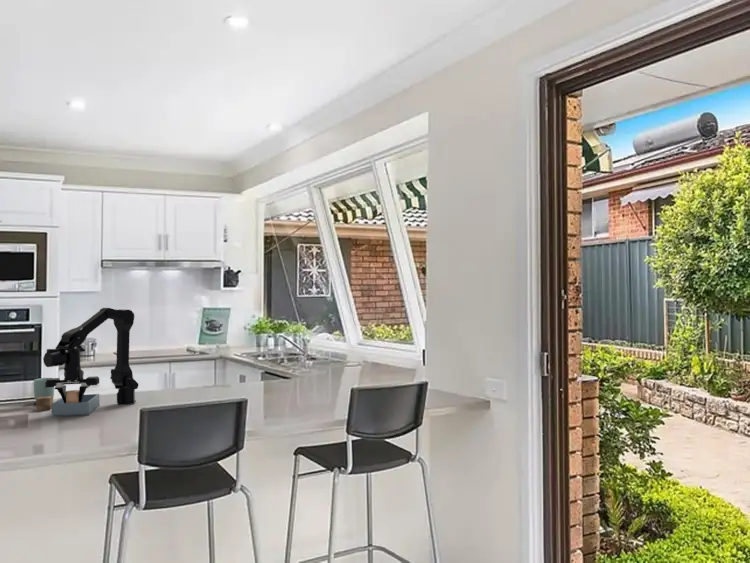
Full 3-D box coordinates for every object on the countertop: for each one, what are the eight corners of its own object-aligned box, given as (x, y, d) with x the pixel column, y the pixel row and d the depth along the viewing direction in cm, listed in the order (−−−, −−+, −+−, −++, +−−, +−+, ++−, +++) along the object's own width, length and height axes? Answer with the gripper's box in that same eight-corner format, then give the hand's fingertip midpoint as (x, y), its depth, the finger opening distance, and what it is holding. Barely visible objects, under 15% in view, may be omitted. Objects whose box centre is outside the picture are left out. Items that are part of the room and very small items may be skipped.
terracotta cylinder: (78, 409, 263) (78, 391, 263) (64, 410, 262) (64, 392, 262) (81, 407, 268) (81, 389, 268) (68, 408, 267) (67, 390, 267)
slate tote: (99, 405, 281) (99, 393, 281) (88, 415, 262) (88, 402, 262) (65, 407, 278) (64, 395, 278) (51, 417, 259) (51, 404, 259)
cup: (46, 404, 287) (45, 380, 287) (30, 403, 289) (29, 380, 288) (58, 400, 295) (57, 377, 295) (42, 400, 296) (42, 377, 296)
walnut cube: (53, 408, 278) (52, 396, 278) (49, 410, 273) (49, 398, 273) (40, 408, 277) (39, 396, 277) (36, 411, 272) (36, 398, 272)
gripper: (101, 360, 274) (102, 399, 274) (52, 362, 271) (53, 401, 271) (95, 364, 263) (96, 404, 263) (44, 366, 260) (45, 406, 260)
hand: (73, 403), depth 265 cm, fingers closed on terracotta cylinder, 5 cm apart
